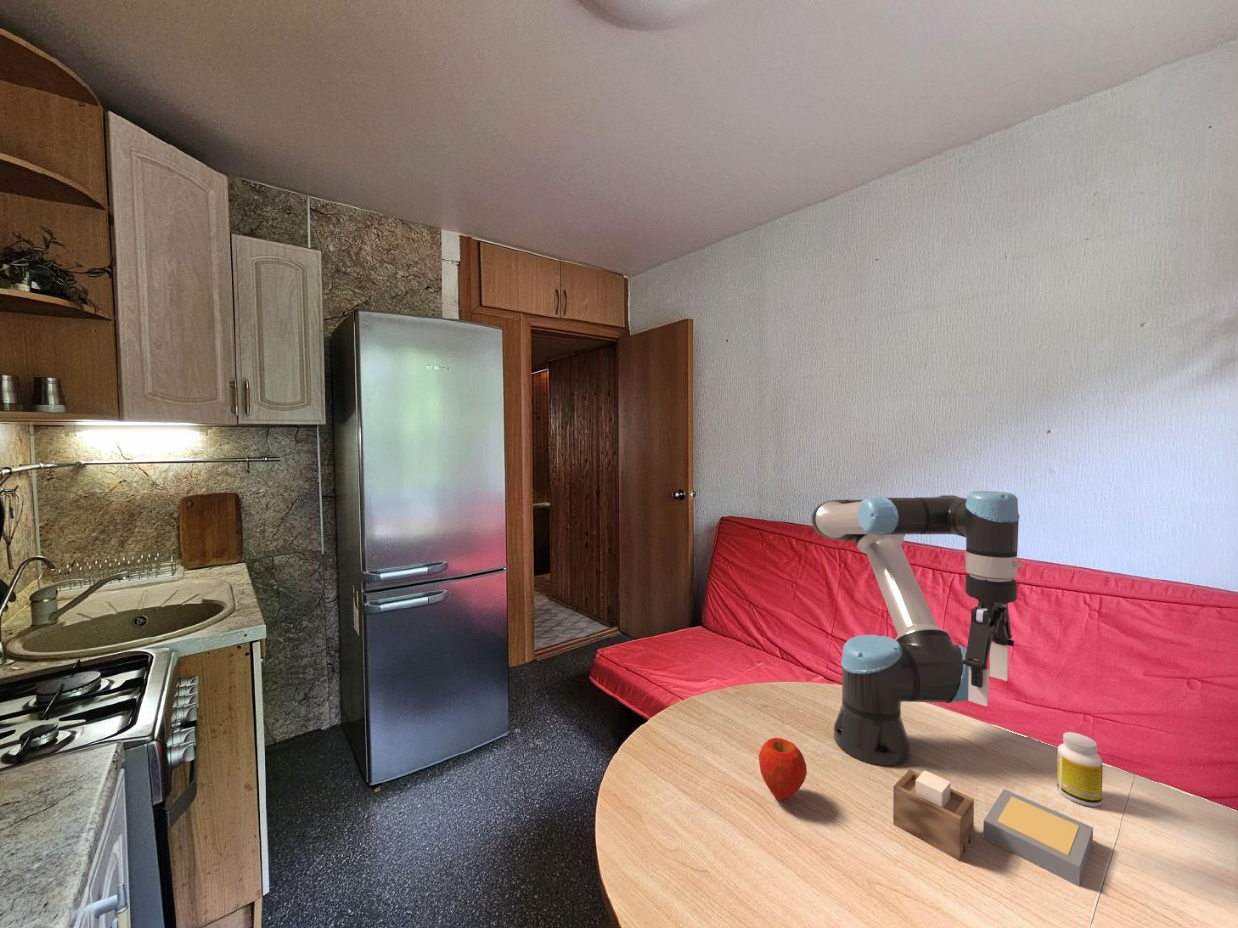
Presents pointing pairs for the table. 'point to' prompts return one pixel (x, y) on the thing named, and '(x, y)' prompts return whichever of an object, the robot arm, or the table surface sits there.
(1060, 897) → the table surface
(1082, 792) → the pill bottle
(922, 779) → the block
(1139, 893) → the table surface
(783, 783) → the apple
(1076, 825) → the dock
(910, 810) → the stained wood crate
